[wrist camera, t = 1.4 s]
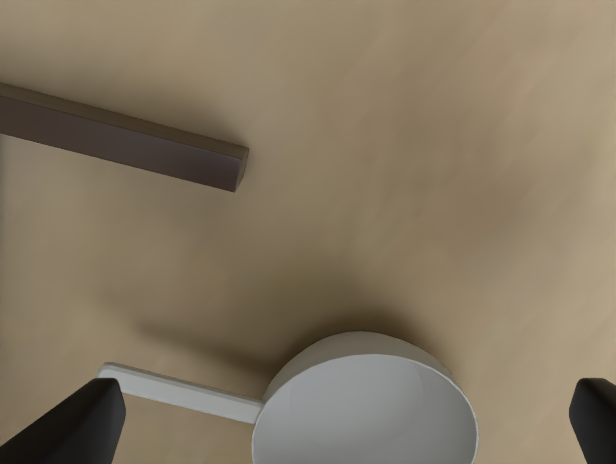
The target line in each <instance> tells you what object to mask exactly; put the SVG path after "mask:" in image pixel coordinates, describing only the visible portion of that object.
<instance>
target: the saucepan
mask: <svg viewBox="0 0 616 464" xmlns="http://www.w3.org/2000/svg"><path fill="white" fill-rule="evenodd" d="M96 378H116V379H117V380H118V382H119V384H120V388H121V392H123V393H127V394H131V395H136V396H140V397H144V398H148V399H152V400H156V401H160V402H164V403H168V404H172V405H176V406H181V407H185V408H189V409H193V410H197V411H201V412H205V413H209V414H213V415H217V416H221V417H226V418H230V419H234V420H238V421H242V422H246V423H250V424H254V425H255V427H254V430H253V435H252V446H251V451H252V458H253V464H473V462H474V459H475V456H476V453H477V449H478V440H479V432H478V424H477V419H476V416H475V414H474V411H473V408H472V405H471V404H470V402H469V401H468V399H467V398H466V396H465V394H464V392H463V391H462V389H461V388H460V386H459V385H458V383H457V382H456V380H455V379H454V378H453V376H452V375H451V374H450V372H449V371H448V370H447V369H446V368H445V367H444V366H443V365H442V364H441V363H440V362H439V361H438V360H437V359H436V358H434V357H433V356H431V355H430V354H428V353H427V352H426V351H424V350H423V349H421V348H419V347H417V346H415V345H412V344H410V343H408V342H405V341H403V340H401V339H398V338H394V337H391V336H388V335H384V334H380V333H376V332H366V331H356V332H345V333H340V334H336V335H332V336H329V337H327V338H324V339H321V340H319V341H317V342H316V343H314V344H312V345H310V346H309V347H307V348H306V349H305V350H303V351H302V352H300V353H299V354H298V355H296V356H295V357H294V358H293V359H291V360H290V361H289V362H288V363H287V364H286V365H285V366H284V367H283V368H282V369H281V370H280V371H279V373H278V374H277V375H276V376H275V377H274V378H273V379H272V381H271V383H270V384H269V386H268V388H267V389H266V391H265V393H264V395H263V398H262V400H258V399H254V398H250V397H246V396H243V395H239V394H235V393H231V392H227V391H223V390H219V389H215V388H211V387H208V386H204V385H200V384H196V383H192V382H188V381H184V380H180V379H176V378H173V377H169V376H165V375H161V374H157V373H153V372H149V371H145V370H141V369H138V368H134V367H130V366H126V365H122V364H118V363H114V362H105V363H104V364H103V365H102V366H101V367H100V368H99V370H98V373H97V376H96Z"/></svg>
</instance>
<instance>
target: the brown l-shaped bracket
mask: <svg viewBox="0 0 616 464" xmlns="http://www.w3.org/2000/svg"><path fill="white" fill-rule="evenodd" d="M0 133H2V134H6V135H10V136H14V137H18V138H22V139H26V140H29V141H33V142H37V143H41V144H45V145H49V146H53V147H57V148H61V149H65V150H69V151H73V152H77V153H81V154H85V155H89V156H93V157H97V158H101V159H104V160H108V161H112V162H116V163H120V164H124V165H128V166H132V167H136V168H140V169H144V170H148V171H152V172H156V173H160V174H164V175H168V176H172V177H176V178H179V179H183V180H187V181H191V182H195V183H199V184H203V185H207V186H211V187H215V188H219V189H223V190H227V191H231V192H236V190H237V188H238V186H239V184H240V182H241V180H242V178H243V175H244V171H245V166H246V162H247V157H248V153H249V148H246V147H242V146H239V145H235V144H231V143H227V142H224V141H220V140H216V139H212V138H208V137H205V136H201V135H197V134H193V133H190V132H186V131H182V130H178V129H175V128H171V127H167V126H163V125H159V124H156V123H152V122H148V121H144V120H141V119H137V118H133V117H129V116H126V115H122V114H118V113H114V112H111V111H107V110H103V109H99V108H95V107H92V106H88V105H84V104H80V103H77V102H73V101H69V100H65V99H62V98H58V97H54V96H50V95H46V94H43V93H39V92H35V91H31V90H28V89H24V88H20V87H16V86H13V85H9V84H5V83H0Z"/></svg>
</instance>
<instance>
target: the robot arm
mask: <svg viewBox="0 0 616 464" xmlns="http://www.w3.org/2000/svg"><path fill="white" fill-rule="evenodd" d="M125 416H126V408H125V403H124V400H123V396H122V392H121V388H120V384H119V382H118V380H117V379H116V378H95V379H93V380H91V381H90V382H88V383H87V384H86V385H84V386H83V387H81V388H80V389H79V390H77V391H76V392H75V393H73V394H72V395H70V396H69V397H68V398H66V399H65V400H64V401H62V402H61V403H60V404H58V405H57V406H55V407H54V408H53V409H51V410H50V411H49V412H47V413H46V414H44V415H43V416H42V417H40V418H39V419H38V420H36V421H35V422H33V423H32V424H31V425H29V426H28V427H27V428H25V429H24V430H23V431H21V432H20V433H18V434H17V435H16V436H14V437H13V438H12V439H10V440H9V441H7V442H6V443H5V444H3V445H2V446H1V447H0V464H111V463H112V460H113V457H114V454H115V450H116V447H117V444H118V441H119V437H120V434H121V431H122V428H123V424H124V421H125ZM569 418H570V422H571V425H572V427H573V429H574V432H575V434H576V437H577V439H578V442H579V444H580V447H581V449H582V452H583V454H584V457H585V459H586V462H587V464H616V385H614V384H612V383H611V382H609V381H607V380H606V379H603V378H582V379H580V380H579V381H578V383H577V385H576V388H575V392H574V395H573V398H572V401H571V404H570V407H569Z"/></svg>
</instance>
